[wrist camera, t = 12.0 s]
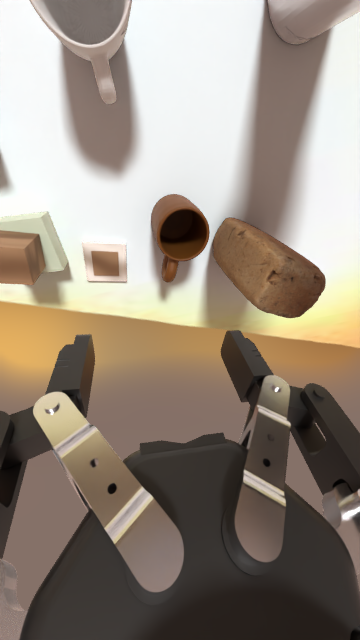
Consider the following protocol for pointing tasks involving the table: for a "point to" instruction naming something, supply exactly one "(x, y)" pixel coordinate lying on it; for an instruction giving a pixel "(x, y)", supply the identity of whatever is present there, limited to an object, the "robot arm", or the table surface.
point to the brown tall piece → (267, 269)
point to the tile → (105, 261)
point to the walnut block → (20, 257)
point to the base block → (48, 237)
